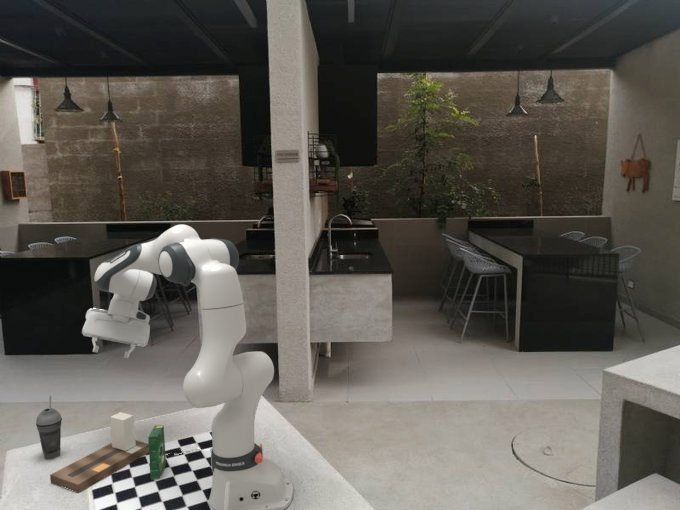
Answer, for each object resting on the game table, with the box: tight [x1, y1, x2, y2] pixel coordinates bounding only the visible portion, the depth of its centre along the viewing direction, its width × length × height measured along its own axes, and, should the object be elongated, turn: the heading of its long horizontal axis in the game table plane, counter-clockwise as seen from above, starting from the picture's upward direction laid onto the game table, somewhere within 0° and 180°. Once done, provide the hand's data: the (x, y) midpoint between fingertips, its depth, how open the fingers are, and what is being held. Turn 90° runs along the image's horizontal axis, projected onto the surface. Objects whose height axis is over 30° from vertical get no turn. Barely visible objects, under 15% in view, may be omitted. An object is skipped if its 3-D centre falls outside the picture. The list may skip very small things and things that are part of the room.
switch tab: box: [109, 411, 136, 451], centre depth 169 cm, size 4×6×10 cm, turn 63°
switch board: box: [49, 439, 149, 493], centre depth 162 cm, size 26×12×3 cm, turn 153°
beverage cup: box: [35, 395, 63, 461], centre depth 168 cm, size 7×7×20 cm
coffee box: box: [147, 424, 167, 481], centre depth 158 cm, size 8×3×13 cm, turn 4°
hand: (110, 354), depth 169 cm, fingers open, 8 cm apart
